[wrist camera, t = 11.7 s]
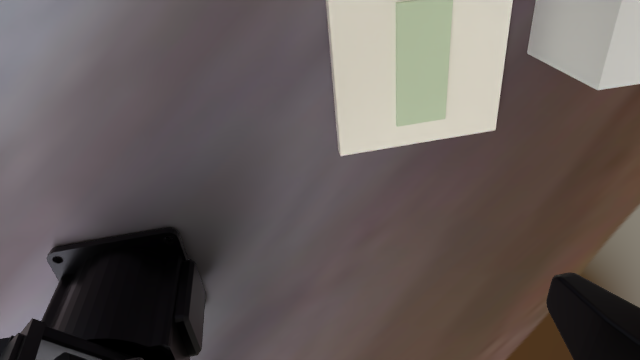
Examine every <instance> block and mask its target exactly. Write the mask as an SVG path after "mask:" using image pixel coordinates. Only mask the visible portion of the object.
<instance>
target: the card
mask: <svg viewBox="0 0 640 360" xmlns="http://www.w3.org/2000/svg"><path fill="white" fill-rule="evenodd" d="M512 3H513V0H326V10H327V22H328V34H329V46H330V58H331V69H332V81H333V93H334V105H335V117H336V129H337V141H338V151H339V153H340V156H344V155H350V154H356V153H362V152H368V151H374V150H380V149H386V148H392V147H398V146H404V145H410V144H416V143H422V142H428V141H434V140H440V139H446V138H452V137H458V136H464V135H470V134H476V133H482V132H488V131H494V130H496V122H497V115H498V107H499V100H500V93H501V85H502V78H503V70H504V63H505V55H506V48H507V40H508V33H509V25H510V18H511V10H512Z"/></svg>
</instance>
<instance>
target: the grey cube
mask: <svg viewBox="0 0 640 360" xmlns="http://www.w3.org/2000/svg"><path fill="white" fill-rule="evenodd" d="M527 54H529V55H531V56H533V57H535V58H537V59H539V60H541V61H542V62H544V63H546V64H548V65H550V66H552V67H554V68H556V69H558V70H560V71H562V72H563V73H565V74H567V75H569V76H571V77H573V78H575V79H577V80H579V81H581V82H583V83H585V84H586V85H588V86H590V87H592V88H594V89H596V90H603V89H609V88H616V87H622V86H629V85H635V84H640V0H536V3H535V9H534V14H533V20H532V26H531V32H530V38H529V44H528V50H527Z"/></svg>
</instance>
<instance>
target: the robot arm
mask: <svg viewBox="0 0 640 360" xmlns="http://www.w3.org/2000/svg"><path fill="white" fill-rule="evenodd" d="M167 236H170V237H172V239H167V238H166V237H167ZM56 256H60V257H62V258H58V257H56ZM47 261H48V263H49V265H50V267H51V268H52V270H53V272H54V273H55V275H56V277H57V279H58V280H59V283H58V286H57V288H56V290H55V292H54V294H53V296H52V299H51V301H50V303H49V305H48V307H47V310H46V312H45V314H44V316H43V318H42V320H41V321H38V320H36V319H31V321H30V322H29V323H28V324H27V326H26V327H25V328H24V329H23V331H22V332H21V333H18V334H17V335H16V336H11V337H10V338H3V339H0V360H190V357H191V356H196V355H198V354H199V353H200V351H201V349H202V336H203V322H204V309H205V295H206V293H205V290H204V287H203V284H202V281H201V278H200V275H199V272H198V269H197V266H196V263H195V262H194V261H192V260H191V259H190V260H188V257H187V254H186V251H185V249H184V246H183V243H182V240H181V237H180V234H179V232H178V231H177V230H176V229H173V228H163V229H157V230H152V231H146V232H140V233H134V234H129V235H123V236H117V237H112V238H106V239H100V240H94V241H89V242H83V243H77V244H72V245H66V246H60V247H55V248H53V249H52V250H50V252H49V254H48V256H47ZM547 308H548V310H549V313H550V315H551V317H552V318H553V320H554V322H555V324H556V326H557V328H558V330H559V332H560V334H561V336H562V338H563V340H564V342H565V344H566V346H567V348H568V349H569V351H570V353H571V355H572V357H573V359H574V360H640V308H639V307H637V306H635V305H633V304H632V303H630V302H628V301H626V300H624V299H622V298H620V297H618V296H616V295H615V294H613V293H611V292H609V291H607V290H605V289H604V288H602V287H600V286H598V285H596V284H594V283H592V282H591V281H589V280H587V279H585V278H583V277H581V276H579V275H577V274H575V273H564V274H559V275H556V276H554V277H553V278H552V281H551V285H550V289H549V293H548V296H547Z"/></svg>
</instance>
